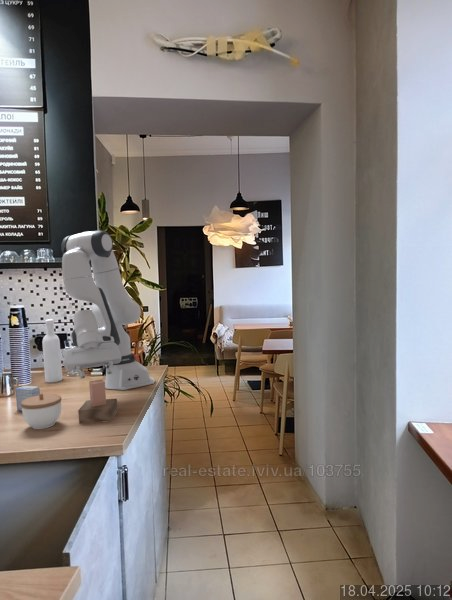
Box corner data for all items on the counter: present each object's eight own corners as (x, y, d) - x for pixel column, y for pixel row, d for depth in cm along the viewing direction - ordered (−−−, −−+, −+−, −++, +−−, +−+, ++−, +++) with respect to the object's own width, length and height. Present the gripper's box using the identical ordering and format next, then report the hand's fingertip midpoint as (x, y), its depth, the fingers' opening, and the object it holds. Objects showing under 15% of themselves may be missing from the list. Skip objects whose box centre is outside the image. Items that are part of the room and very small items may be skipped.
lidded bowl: (22, 435, 136) (19, 401, 135) (23, 423, 148) (21, 392, 147) (64, 427, 141) (61, 395, 140) (62, 416, 152) (60, 386, 152)
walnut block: (117, 411, 156) (116, 398, 156) (111, 422, 145) (110, 408, 145) (87, 413, 156) (86, 400, 155) (79, 424, 145) (78, 410, 144)
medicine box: (41, 408, 163) (40, 386, 163) (33, 412, 159) (31, 389, 158) (25, 407, 166) (24, 385, 165) (16, 410, 162) (14, 388, 161)
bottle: (41, 381, 205) (37, 320, 203) (56, 377, 212) (51, 318, 210) (51, 383, 201) (46, 320, 199) (65, 379, 207) (61, 318, 205)
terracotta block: (103, 401, 154) (101, 379, 153) (106, 404, 150) (104, 382, 149) (90, 403, 151) (89, 381, 151) (93, 406, 148) (91, 384, 147)
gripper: (60, 343, 153) (66, 375, 145) (117, 336, 162) (125, 366, 154) (60, 353, 157) (65, 385, 149) (115, 346, 166) (123, 375, 159)
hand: (96, 375), depth 152 cm, fingers open, 8 cm apart
